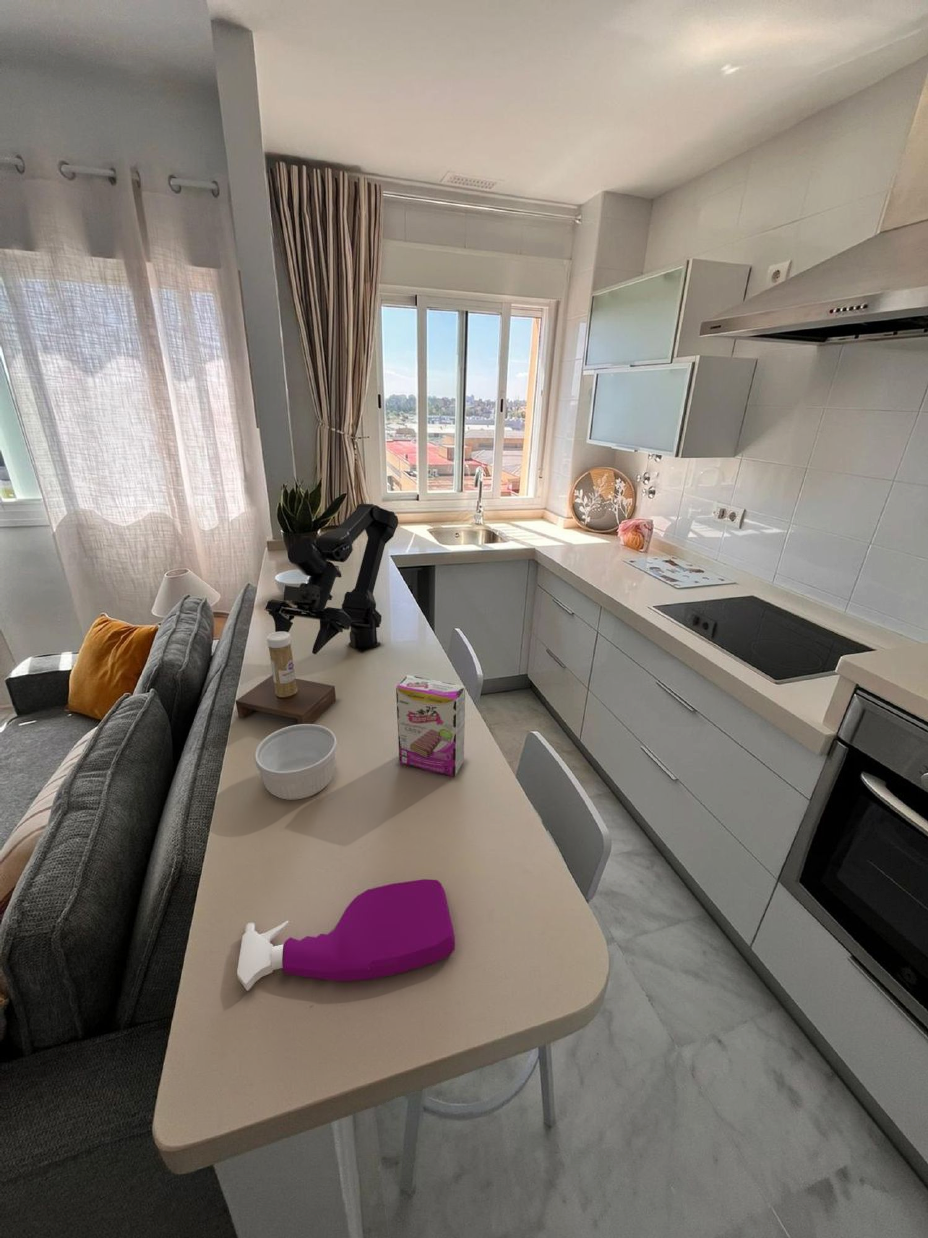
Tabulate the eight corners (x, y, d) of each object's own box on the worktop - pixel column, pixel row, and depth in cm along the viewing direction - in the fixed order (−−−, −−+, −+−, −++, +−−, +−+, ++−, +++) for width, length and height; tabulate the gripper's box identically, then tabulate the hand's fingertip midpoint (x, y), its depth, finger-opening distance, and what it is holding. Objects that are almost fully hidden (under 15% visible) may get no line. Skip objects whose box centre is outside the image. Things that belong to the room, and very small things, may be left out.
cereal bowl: (319, 603, 165) (317, 583, 162) (269, 602, 165) (266, 582, 162) (332, 587, 181) (330, 568, 178) (287, 586, 181) (284, 567, 178)
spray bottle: (458, 965, 57) (232, 1020, 52) (441, 884, 67) (249, 923, 62) (458, 948, 56) (227, 1002, 51) (440, 868, 66) (245, 907, 61)
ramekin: (296, 818, 78) (291, 783, 75) (243, 787, 84) (236, 753, 82) (355, 771, 88) (352, 739, 86) (304, 746, 95) (300, 715, 92)
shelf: (275, 689, 114) (273, 674, 112) (336, 701, 109) (334, 685, 108) (238, 717, 103) (235, 700, 102) (303, 732, 99) (301, 715, 97)
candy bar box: (398, 765, 90) (393, 687, 83) (409, 749, 94) (406, 673, 88) (455, 779, 86) (456, 699, 80) (465, 762, 91) (466, 684, 84)
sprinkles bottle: (292, 698, 103) (284, 640, 98) (271, 697, 103) (262, 639, 98) (301, 687, 107) (293, 630, 102) (280, 686, 107) (272, 629, 102)
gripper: (263, 564, 107) (235, 630, 101) (339, 573, 101) (314, 643, 96) (290, 587, 117) (266, 649, 111) (361, 596, 111) (339, 661, 106)
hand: (295, 650), depth 106 cm, fingers open, 9 cm apart
